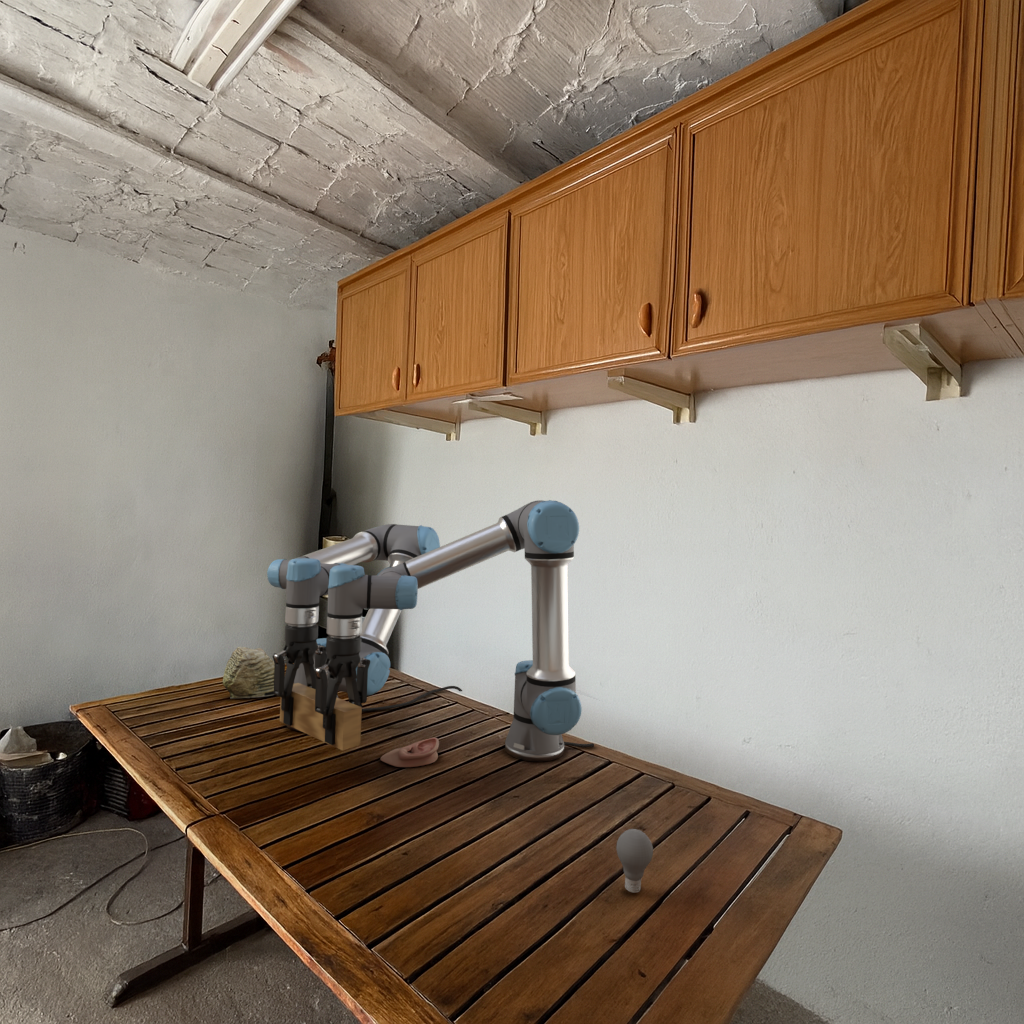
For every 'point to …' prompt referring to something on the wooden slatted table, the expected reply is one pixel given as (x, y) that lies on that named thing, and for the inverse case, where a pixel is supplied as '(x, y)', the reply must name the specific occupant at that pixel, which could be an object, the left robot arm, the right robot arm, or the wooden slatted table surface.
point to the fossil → (249, 674)
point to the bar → (313, 721)
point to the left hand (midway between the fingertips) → (298, 720)
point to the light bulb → (634, 857)
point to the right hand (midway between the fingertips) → (340, 739)
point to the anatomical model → (413, 754)
